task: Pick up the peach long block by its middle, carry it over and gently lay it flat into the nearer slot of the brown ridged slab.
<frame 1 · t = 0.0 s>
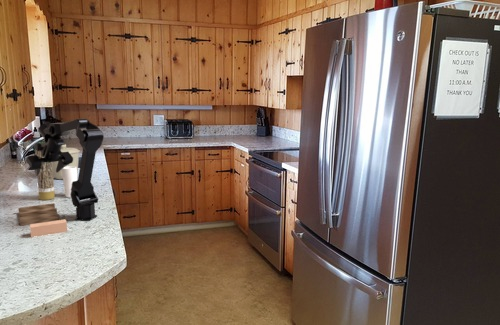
hand: (46, 173, 178), 15 cm above the worktop, tool tilted 35°, fingers open, 9 cm apart
bark textured cylinder: (47, 199, 190), on the worktop
canister: (65, 178, 236), on the worktop
brown ridged slab: (38, 216, 163), on the worktop
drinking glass: (71, 196, 195), on the worktop
peach long block: (49, 233, 145), on the worktop
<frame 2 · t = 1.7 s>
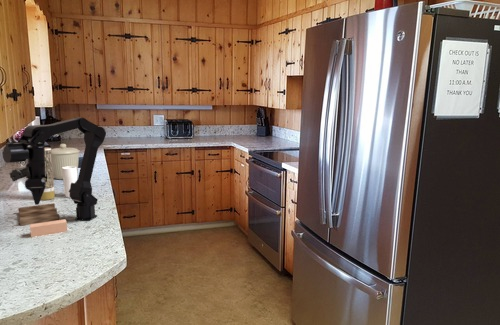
hand: (37, 201, 144), 12 cm above the worktop, tool pointing down, fingers open, 9 cm apart
nothing on the worktop moved.
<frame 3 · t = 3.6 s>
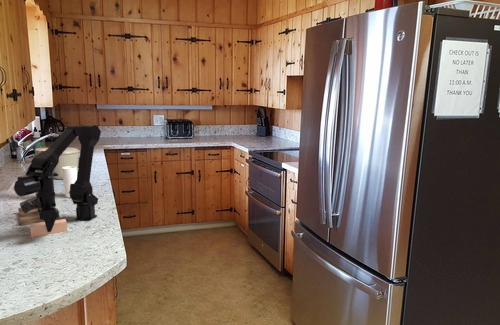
hand: (48, 230, 145), 1 cm above the worktop, tool pointing down, fingers closed on peach long block, 4 cm apart
peach long block: (49, 233, 145), on the worktop, touching gripper
everything else where it was.
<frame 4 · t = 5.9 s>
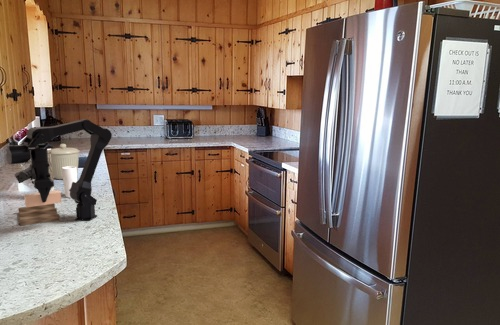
hand: (43, 200, 148), 11 cm above the worktop, tool pointing down, fingers closed on peach long block, 4 cm apart
peach long block: (43, 203, 149), point 10 cm above the worktop, touching gripper
everything else where it was.
when the fingers open (4 cm above the worktop, at t = 8.2 s): peach long block drops 2 cm, resting on brown ridged slab.
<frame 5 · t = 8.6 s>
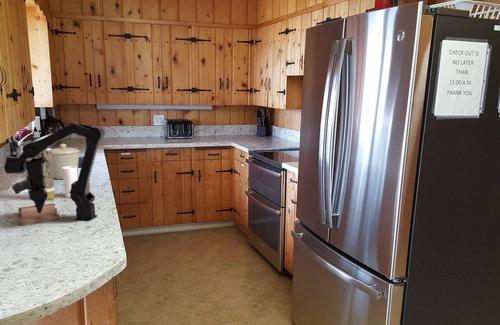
hand: (38, 210, 159), 4 cm above the worktop, tool pointing down, fingers open, 8 cm apart
peach long block: (39, 217, 160), point 1 cm above the worktop, touching brown ridged slab
everything else where it was.
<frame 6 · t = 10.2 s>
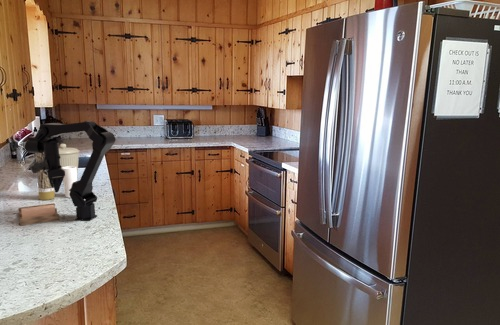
hand: (54, 189, 163), 11 cm above the worktop, tool pointing down, fingers open, 9 cm apart
nothing on the worktop moved.
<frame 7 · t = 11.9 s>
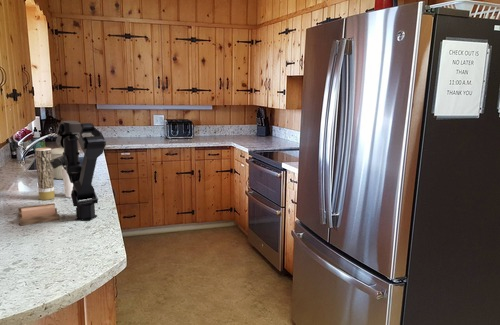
hand: (73, 184, 169), 12 cm above the worktop, tool pointing down, fingers open, 9 cm apart
nothing on the worktop moved.
at the end: peach long block 0.1 cm from the target spot on the brown ridged slab, point 1.0 cm above the brown ridged slab's base; peach long block tilted 0°; the gripper is holding nothing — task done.
